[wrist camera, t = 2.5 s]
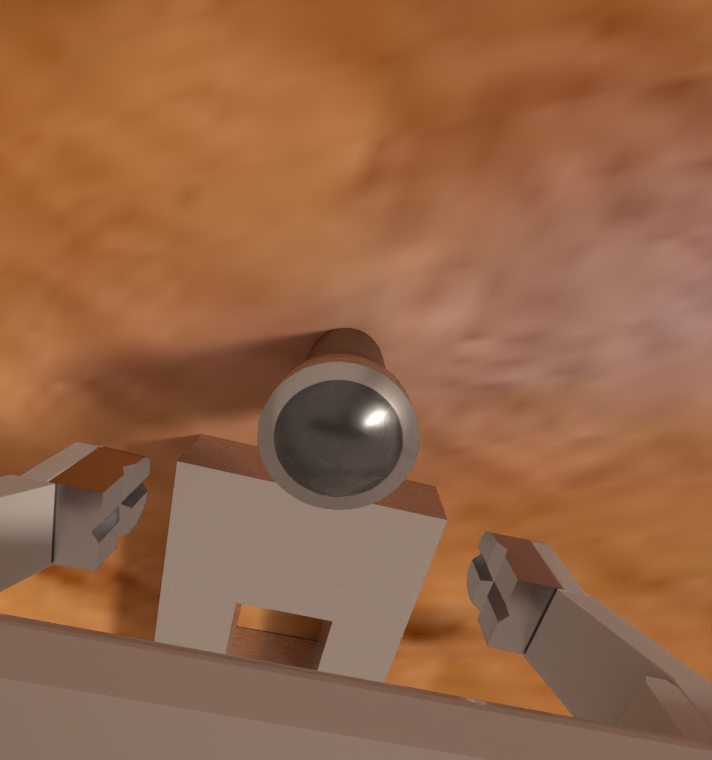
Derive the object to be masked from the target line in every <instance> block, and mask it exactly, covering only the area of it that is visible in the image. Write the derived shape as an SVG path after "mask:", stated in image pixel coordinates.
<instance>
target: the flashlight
mask: <svg viewBox="0 0 712 760" xmlns="http://www.w3.org/2000/svg"><path fill="white" fill-rule="evenodd" d="M258 446H259V452H260V455H261V458H262V461H263V463H264V465H265V467H266V469H267V471H268V472H269V474H270V475H271V477H272V478H273V479H274V481H275V482H276V483H277V484H278V485H279V486H280V487H281V488H282V489H283V490H284V491H286V492H287V493H288V494H290V495H291V496H293V497H294V498H296V499H298V500H300V501H302V502H304V503H306V504H309V505H312V506H315V507H319V508H324V509H330V510H348V509H355V508H360V507H364V506H367V505H370V504H372V503H375V502H377V501H379V500H381V499H383V498H384V497H386V496H388V495H389V494H390V493H392V492H393V491H394V490H395V489H396V488H397V487H398V486H399V485H400V484H401V483H402V482H403V481H404V480H405V478H406V477H407V476H408V474H409V472H410V471H411V469H412V467H413V465H414V462H415V460H416V457H417V453H418V448H419V428H418V422H417V419H416V416H415V413H414V410H413V407H412V405H411V402H410V400H409V397H408V395H407V393H406V391H405V389H404V388H403V386H402V385H401V383H400V382H399V381H398V380H397V379H396V378H395V376H394V375H393V374H391V373H390V372H389V371H388V370H387V369H386V368H385V364H384V361H383V357H382V354H381V351H380V349H379V347H378V345H377V344H376V342H375V341H374V340H373V339H372V338H371V337H370V336H369V335H367V334H365V333H364V332H362V331H360V330H356V329H352V328H339V329H334V330H332V331H329V332H327V333H326V334H324V335H323V336H321V337H320V338H319V339H318V340H317V341H316V343H315V344H314V346H313V347H312V349H311V351H310V353H309V355H308V357H307V359H306V361H305V362H303V363H301V364H299V365H298V366H296V367H295V368H293V369H292V370H291V371H290V372H288V373H287V374H286V375H285V376H284V377H283V378H282V380H281V381H280V382H279V383H278V385H277V386H276V388H275V390H274V391H273V393H272V394H271V396H270V398H269V399H268V401H267V402H266V404H265V406H264V408H263V411H262V413H261V416H260V420H259V425H258Z"/></svg>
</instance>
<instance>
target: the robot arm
mask: <svg viewBox="0 0 712 760" xmlns="http://www.w3.org/2000/svg"><path fill="white" fill-rule="evenodd" d="M149 473H150V460H149V458H148V457H146V456H142V455H138V454H133V453H129V452H125V451H121V450H117V449H112V448H108V447H103V446H101V445H96V444H91V443H86V442H75V443H73V444H72V445H70V446H68V447H67V448H65V449H63V450H62V451H60V452H58V453H57V454H55V455H54V456H52V457H50V458H49V459H47V460H45V461H44V462H42V463H40V464H39V465H37V466H35V467H34V468H32V469H30V470H29V471H27V472H26V473H24V474H22V475H21V476H16V475H7V476H2V477H0V592H1V591H3V590H5V589H7V588H8V587H10V586H12V585H14V584H16V583H18V582H20V581H22V580H24V579H26V578H28V577H30V576H32V575H34V574H36V573H38V572H40V571H42V570H44V569H46V568H48V567H50V566H51V564H58V565H64V566H70V567H76V568H82V569H88V570H94V571H97V569H98V568H99V567H100V566H101V565H102V564H103V563H104V561H105V560H106V559H107V558H108V557H109V556H110V554H111V553H112V552H113V551H114V550H115V549H116V547H117V539H118V537H120V536H123V535H125V534H128V533H129V532H130V531H131V530H132V529H133V527H134V526H135V525H136V524H137V522H138V520H139V518H140V516H141V514H142V512H143V509H144V506H145V503H146V497H147V490H146V488H145V487H144V485H143V483H142V482H143V480H144V479H145V478H146V477H147V476H148V475H149ZM478 546H479V549H480V552H481V554H480V555H479V556H477V557H476V558H474V559H473V560H472V562H471V564H470V567H469V570H468V576H467V588H468V594H469V597H470V600H471V602H472V603H473V604H474V605H475V606H476V607H477V608H478V610H479V611H480V614H479V617H478V622H479V624H480V627H481V630H482V632H483V635H484V638H485V641H486V643H487V646H488V647H492V648H497V649H501V650H506V651H510V652H515V653H519V654H524V655H525V656H524V657H525V658H526V659H527V661H528V662H529V663H530V664H531V665H532V667H533V668H534V669H535V670H536V672H537V673H538V674H539V675H540V676H541V678H542V679H543V680H544V681H545V682H546V684H547V685H548V686H549V687H550V688H551V690H552V691H553V692H554V693H555V694H556V696H557V697H558V698H559V699H560V700H561V702H562V703H563V704H564V705H565V706H566V708H567V709H568V710H569V711H570V712H571V714H572V715H573V716H574V717H570V716H564V715H559V714H553V713H547V712H542V711H536V710H531V709H526V708H520V707H515V706H509V705H504V704H498V703H493V702H487V701H482V700H476V699H471V698H465V697H460V696H454V695H449V694H443V693H438V692H433V691H427V690H422V689H416V688H411V687H405V686H400V685H394V684H389V683H383V682H378V681H372V680H367V679H361V678H356V677H350V676H344V675H339V674H333V673H328V672H322V671H316V670H311V669H305V668H300V667H294V666H289V665H283V664H277V663H272V662H266V661H261V660H255V659H250V658H244V657H238V656H233V655H227V654H222V653H216V652H211V651H205V650H199V649H194V648H188V647H183V646H177V645H172V644H166V643H161V642H155V641H150V640H144V639H139V638H133V637H127V636H122V635H116V634H111V633H105V632H100V631H94V630H89V629H83V628H78V627H72V626H67V625H61V624H56V623H50V622H44V621H39V620H33V619H28V618H22V617H17V616H11V615H6V614H0V760H712V684H711V683H710V682H709V681H707V680H706V679H704V678H703V677H702V676H700V675H699V674H698V673H696V672H695V671H694V670H692V669H691V668H689V667H688V666H687V665H685V664H684V663H683V662H681V661H680V660H679V659H677V658H676V657H675V656H673V655H672V654H670V653H669V652H668V651H666V650H665V649H664V648H662V647H661V646H660V645H658V644H657V643H656V642H654V641H653V640H651V639H650V638H649V637H647V636H646V635H645V634H643V633H642V632H641V631H639V630H638V629H636V628H635V627H634V626H632V625H631V624H630V623H628V622H627V621H626V620H624V619H623V618H622V617H620V616H619V615H617V614H616V613H615V612H613V611H612V610H611V609H609V608H608V607H607V606H605V605H604V604H603V603H601V602H600V601H598V600H597V599H596V598H594V597H593V596H590V595H586V594H585V593H584V591H583V590H582V588H581V587H580V586H579V584H578V583H577V582H576V580H575V579H574V578H573V576H572V575H571V574H570V572H569V571H568V569H567V568H566V567H565V565H564V564H563V563H562V561H561V560H560V559H559V557H558V556H557V554H556V553H555V552H554V550H553V549H552V548H551V546H549V545H548V544H546V543H545V542H539V541H534V540H528V539H522V538H516V537H511V536H506V535H501V534H496V533H490V532H485V534H484V535H483V536H482V537H481V540H480V542H479V544H478Z"/></svg>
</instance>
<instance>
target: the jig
mask: <svg viewBox="0 0 712 760" xmlns="http://www.w3.org/2000/svg"><path fill="white" fill-rule="evenodd" d="M446 523H447V518H446V515H445V512H444V509H443V506H442V503H441V501H440V498H439V495H438V492H437V489H436V487H432V486H428V485H423V484H419V483H415V482H410V481H406V480H404V481H403V482H402V483H401V484H400V485H399V486H398V487H397V488H396V489H395V490H394V491H393V492H392V493H390V494H389V495H388V496H386V497H384V498H383V499H381V500H379V501H377V502H375V503H372V504H370V505H367V506H364V507H360V508H355V509H348V510H330V509H324V508H319V507H315V506H312V505H309V504H306V503H304V502H302V501H300V500H298V499H296V498H294V497H293V496H291V495H290V494H288V493H287V492H286V491H284V490H283V489H282V488H281V487H280V486H279V485H278V484H277V483H276V482H275V481H274V479H273V478H272V477H271V475H270V474H269V472H268V471H267V469H266V467H265V465H264V463H263V461H262V458H261V455H260V452H259V447H254V446H250V445H246V444H241V443H237V442H232V441H228V440H223V439H219V438H214V437H210V436H206V435H200V436H199V437H198V438H197V439H196V441H195V442H194V443H193V444H192V445H191V446H190V447H189V448H188V450H187V451H186V452H185V453H184V454H183V455H182V456H181V457H180V459H179V460H178V461H177V466H176V474H175V482H174V490H173V498H172V506H171V514H170V522H169V530H168V537H167V545H166V553H165V561H164V569H163V577H162V585H161V593H160V600H159V608H158V616H157V624H156V632H155V640H154V641H155V642H161V643H166V644H172V645H177V646H183V647H188V648H194V649H199V650H205V651H211V652H216V653H222V654H227V655H233V656H238V657H244V658H250V659H255V660H261V661H266V662H272V663H277V664H283V665H289V666H294V667H300V668H305V669H311V670H316V671H322V672H328V673H333V674H339V675H344V676H350V677H356V678H361V679H367V680H372V681H378V682H383V683H384V682H385V679H386V677H387V674H388V672H389V669H390V666H391V664H392V661H393V659H394V656H395V654H396V651H397V648H398V646H399V643H400V641H401V638H402V636H403V633H404V630H405V628H406V625H407V623H408V620H409V618H410V615H411V612H412V610H413V607H414V605H415V602H416V600H417V597H418V595H419V592H420V589H421V587H422V584H423V582H424V579H425V577H426V574H427V571H428V569H429V566H430V564H431V561H432V559H433V556H434V553H435V551H436V548H437V546H438V543H439V541H440V538H441V535H442V533H443V530H444V528H445V525H446ZM241 604H245V605H250V606H256V607H261V608H266V609H271V610H276V611H282V612H287V613H292V614H297V615H302V616H307V617H313V618H318V619H323V622H322V626H321V629H320V632H319V636H318V639H317V642H316V641H311V640H305V639H300V638H295V637H290V636H284V635H279V634H274V633H268V632H263V631H258V630H252V629H247V628H242V627H237V622H238V618H239V613H240V608H241Z"/></svg>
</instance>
